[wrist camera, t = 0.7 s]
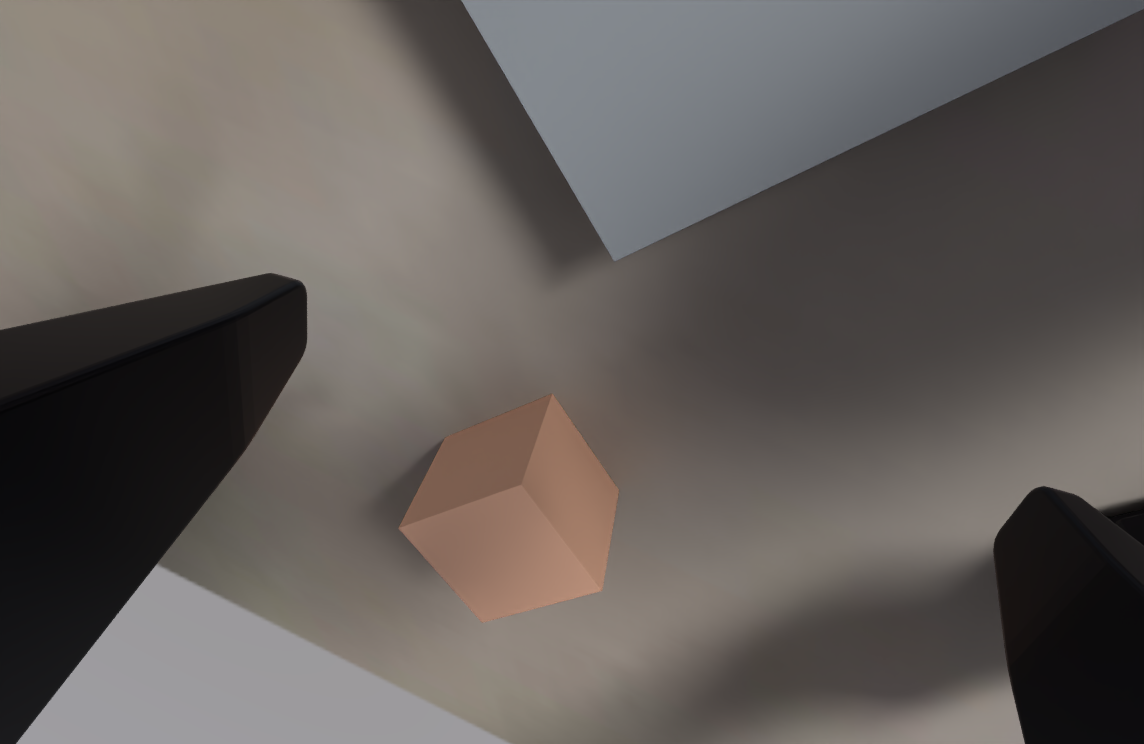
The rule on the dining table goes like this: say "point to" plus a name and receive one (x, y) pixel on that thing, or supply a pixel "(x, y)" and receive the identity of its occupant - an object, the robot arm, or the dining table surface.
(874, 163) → the dining table surface
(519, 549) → the terracotta cube
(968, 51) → the slate base
